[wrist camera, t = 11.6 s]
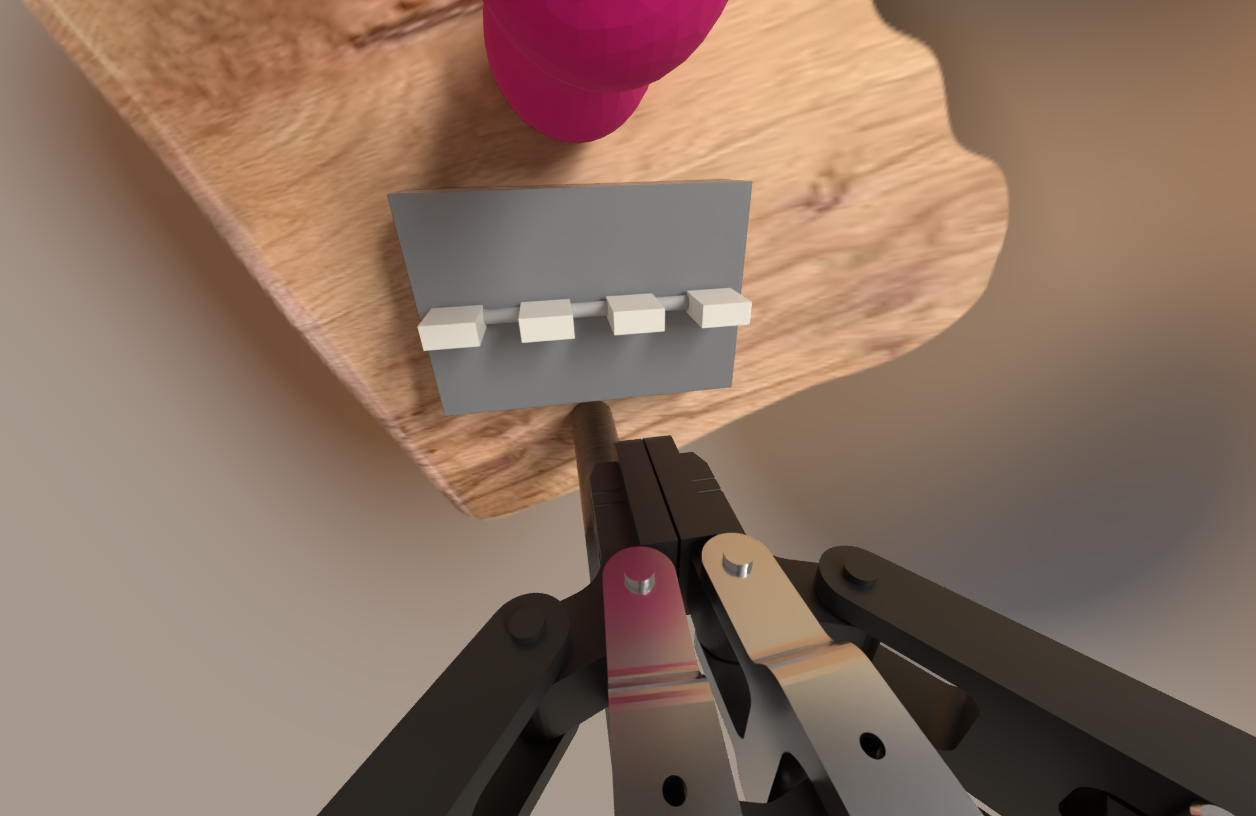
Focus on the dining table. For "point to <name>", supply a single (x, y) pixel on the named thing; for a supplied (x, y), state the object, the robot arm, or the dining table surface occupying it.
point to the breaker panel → (575, 284)
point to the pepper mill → (588, 57)
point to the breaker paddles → (557, 316)
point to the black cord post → (591, 448)
